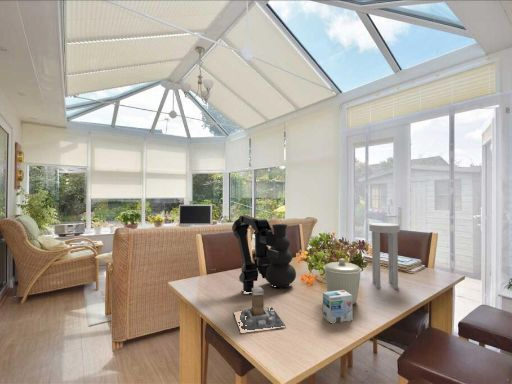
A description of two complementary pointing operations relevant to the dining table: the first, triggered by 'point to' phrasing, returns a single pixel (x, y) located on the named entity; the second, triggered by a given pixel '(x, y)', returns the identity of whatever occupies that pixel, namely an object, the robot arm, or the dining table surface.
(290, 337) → the dining table surface
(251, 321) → the grey square base plate
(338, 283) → the canister
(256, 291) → the tan tall block
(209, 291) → the dining table surface
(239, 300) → the dining table surface
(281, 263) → the vase
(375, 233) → the stool
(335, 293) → the light bulb box
